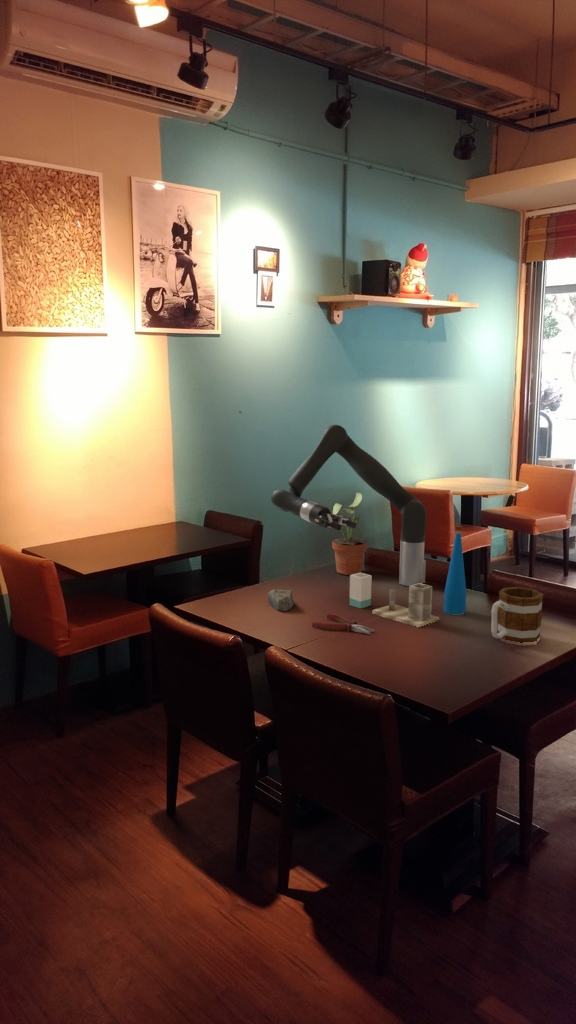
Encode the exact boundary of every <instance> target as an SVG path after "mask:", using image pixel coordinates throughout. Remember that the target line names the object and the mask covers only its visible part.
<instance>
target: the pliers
mask: <svg viewBox="0 0 576 1024" xmlns="http://www.w3.org/2000/svg"><path fill="white" fill-rule="evenodd" d="M329 619H330V620H329ZM326 620H329V621H335V622H337V623H335V622H325V621H324V622H322V621H319V620H313V621H312V622H311V626H312V627H313V628H315V629H320V630H326V631H327V630H328V631H347V633H349V632H351V631H352V632H355V633H361V634H368V635H371V634H372V632H376V629H373V628H370V627H367V626H365V625H361V624H358V622H357V621H355V620H354V621H353V620H352V621H351V620H350V619H347V618H345V617H344V616H341V615H339V614H333V613H328V614H327V615H326Z"/></svg>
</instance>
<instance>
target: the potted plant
mask: <svg viewBox="0 0 576 1024" xmlns="http://www.w3.org/2000/svg"><path fill="white" fill-rule="evenodd" d="M362 499H363V495H362V493H361V492H356V493H355V497H354V500H353V502H352V503H351V504H350V505H349V506H347V505H345V504H344V503H342V504H340V503H338V502H336V503H334V505H333V509H332V514H336V515H337V514H339V511H340V512H341V513H340V514H343V513H342V511H341V508H342V510H343V511H345V512H347V513H348V514H349V515H345V516H346V517H349V518H351V516H352V515H353V517H352V521H353V522H355V523H356V525H357V524H358V522H359V521H360V520H359V519H360V518H359V517H355V514H356V510H357V506H358V505H359V504H361V502H362ZM342 506H344V507H348V508H344V507H342ZM354 508H355V509H354ZM345 521H346V520H345ZM344 526H345V529H346V531H345V529H344V528H343V527H341V530H340V531H341V532H342V533H341V534H342V535H343V537H339V538H334V539H333V540H331V541H332V542H331V543H332V544H331V545H332V547H331V549H333V551H334V557H335V559H334V560H335V566H336V567H335V568H336V572H337V573H338V574H340V575H345V576H350V575H352V574H356V573H362V569H363V563H364V555H365V550H366V549H367V543H368V542H367V540H365V539H362V538H358V537H356V538H355V537H353V536H354V530H355V528H354V529H353V528H351V527H348V526H346V525H344ZM332 529H333V530H335V529H334V528H332ZM346 535H347V536H346Z"/></svg>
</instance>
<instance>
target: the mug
mask: <svg viewBox="0 0 576 1024" xmlns="http://www.w3.org/2000/svg"><path fill="white" fill-rule="evenodd" d="M543 599H544V593H542V592H540V591H539V590H537V589H533V588H529V587H527V588H526V587H520V586H514V587H513V586H512V587H511V586H510V587H503V588H502V589H500V590H499V591H498V600H497V601H495V602H494V603H493V604H492V606H491V607H492V608H491V623H490V624H491V626H490V628H491V629H490V631H491V635H492V637H493V638H495V639H498V640H499V639H500V638H503V639H505V640H510V641H515V642H520V643H523V642H534V641H537V639H538V638H539V637H540V638H541V625H542V619H543V615H542V613H543V611H542V610H543Z"/></svg>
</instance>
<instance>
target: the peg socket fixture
mask: <svg viewBox="0 0 576 1024" xmlns="http://www.w3.org/2000/svg"><path fill="white" fill-rule="evenodd" d="M408 590H409V591H408V607H406V606H402V605H399V604H396V589H394V588H393V589H392V588H391V589H389V594H388V595H389V596H388V597H389V598H388V605H385V606H382V607H378V608H375V609H372V612H371V613H372V614H373V615H376V616H379V617H383V618H385V619H388V620H393V621H396V622H398V621H399V622H398V623H401V622H402V623H401V624H404V625H408V624H409V625H408V626H411V625H412V626H411V627H414V626H416V627H415V628H418V627H420V628H422V627H421V626H423V627H425V626H427V625H426V624H428V625H430V624H429V623H431V624H433V623H432V622H434V623H436V622H435V621H437V620H439V621H440V616H437V615H432V608H433V607H432V605H433V586H432V585H429V584H426V583H425V584H421V583H418V584H414V585H411V586H408ZM437 622H438V621H437ZM424 625H425V626H424Z"/></svg>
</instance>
